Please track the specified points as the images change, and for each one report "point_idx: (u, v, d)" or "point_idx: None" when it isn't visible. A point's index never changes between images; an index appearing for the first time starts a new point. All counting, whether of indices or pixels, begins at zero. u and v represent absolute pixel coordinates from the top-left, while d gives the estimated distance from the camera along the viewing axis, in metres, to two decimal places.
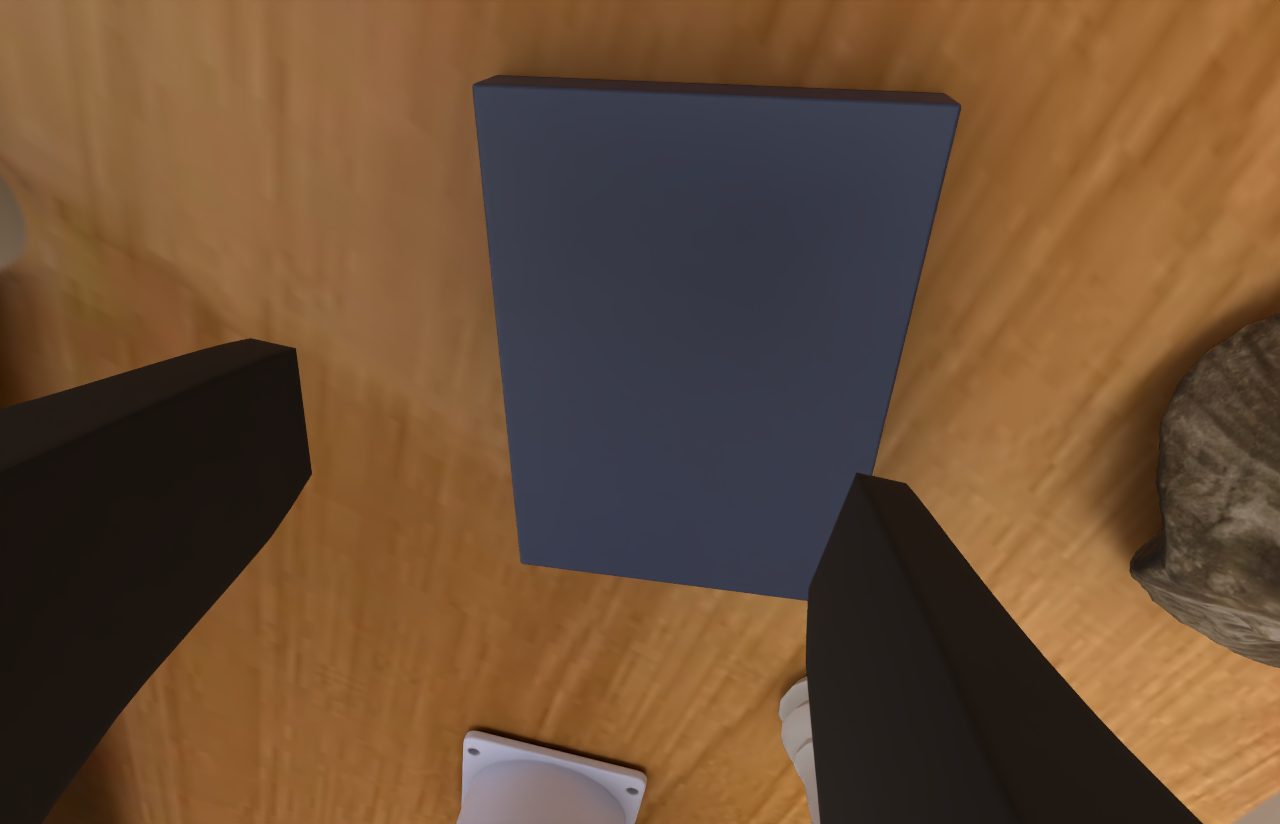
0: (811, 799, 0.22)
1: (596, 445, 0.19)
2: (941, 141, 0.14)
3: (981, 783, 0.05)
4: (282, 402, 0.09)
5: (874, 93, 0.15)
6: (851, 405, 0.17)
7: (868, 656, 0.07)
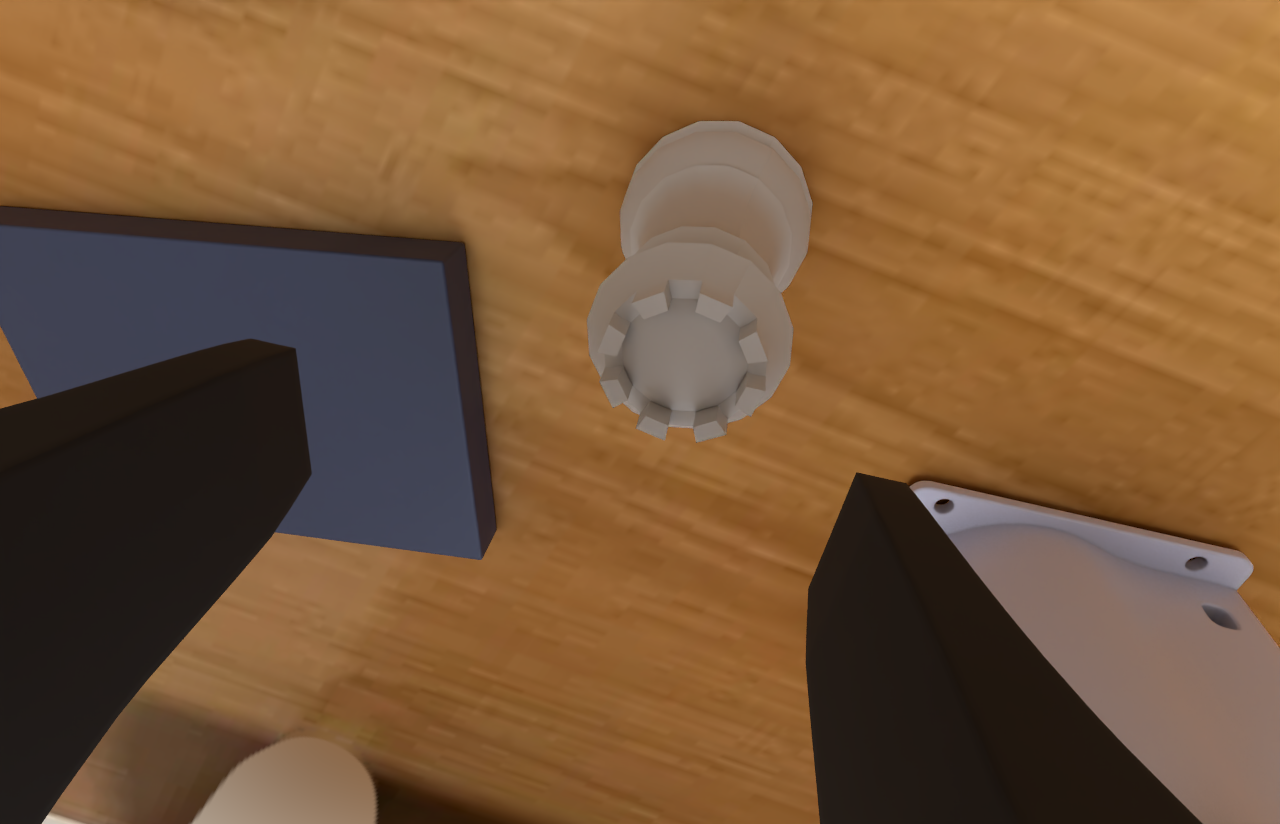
0: None
1: (319, 479, 0.22)
2: None
3: (981, 783, 0.05)
4: (282, 402, 0.09)
5: None
6: (194, 273, 0.18)
7: (868, 656, 0.07)
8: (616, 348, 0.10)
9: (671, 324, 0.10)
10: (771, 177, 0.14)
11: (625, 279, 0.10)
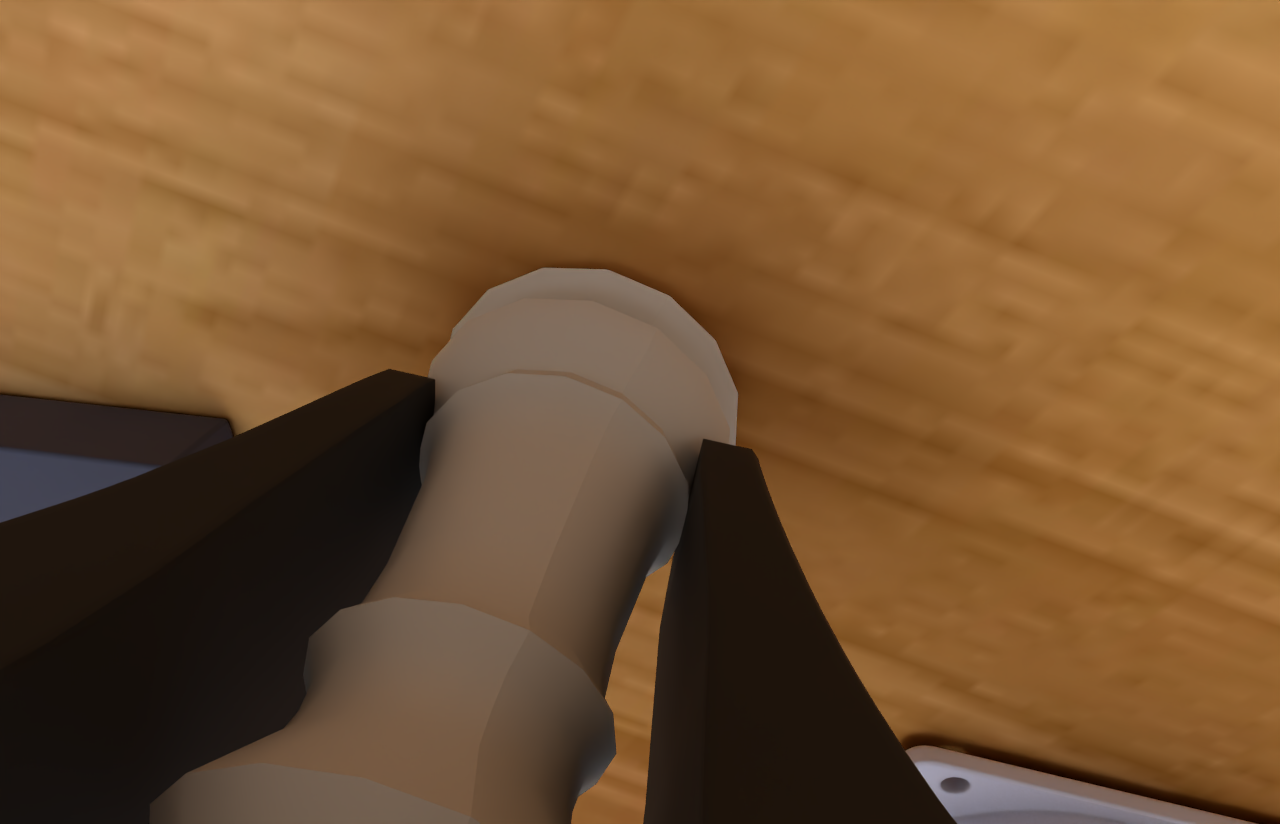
0: None
1: None
2: None
3: (700, 716, 0.05)
4: (421, 434, 0.09)
5: None
6: None
7: (682, 613, 0.07)
8: None
9: None
10: (650, 385, 0.08)
11: None
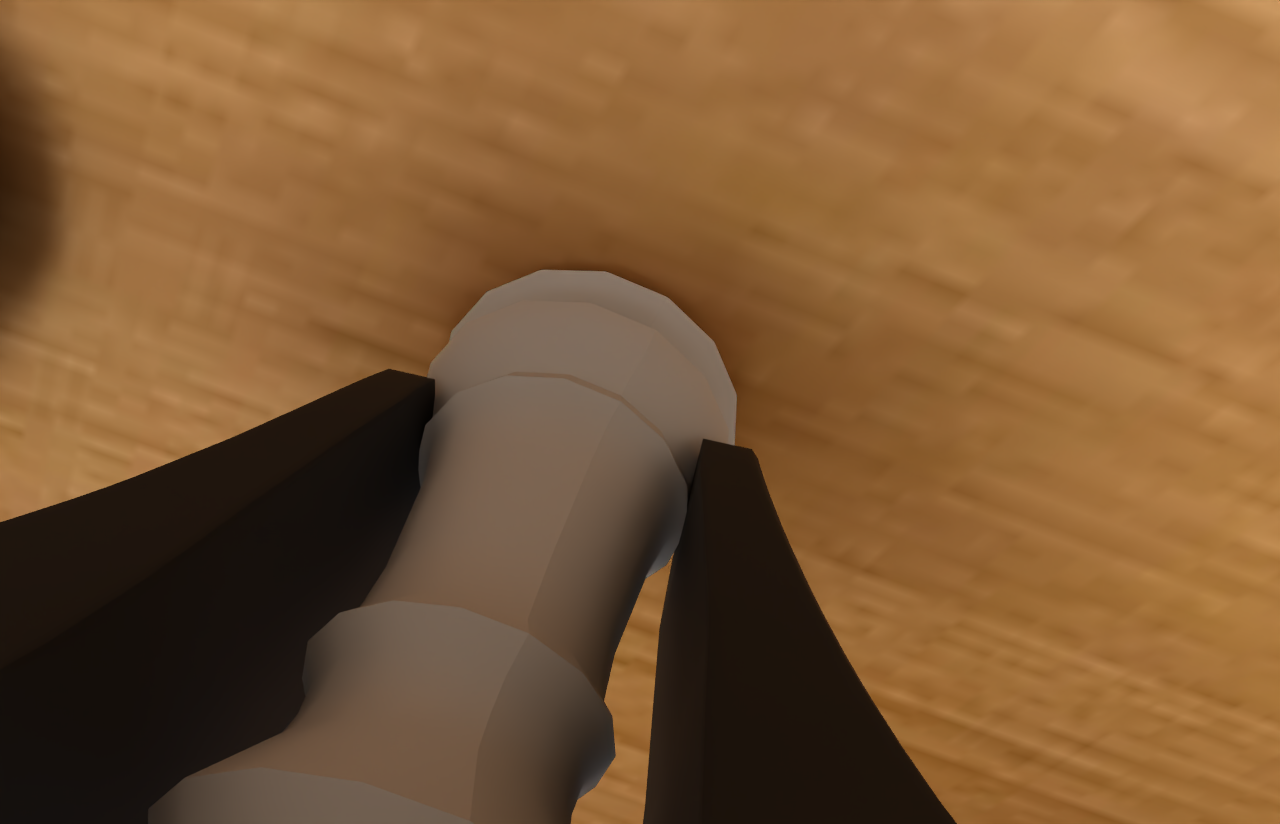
0: None
1: None
2: None
3: (700, 715, 0.05)
4: (421, 434, 0.09)
5: None
6: None
7: (682, 612, 0.07)
8: None
9: None
10: (649, 387, 0.08)
11: None
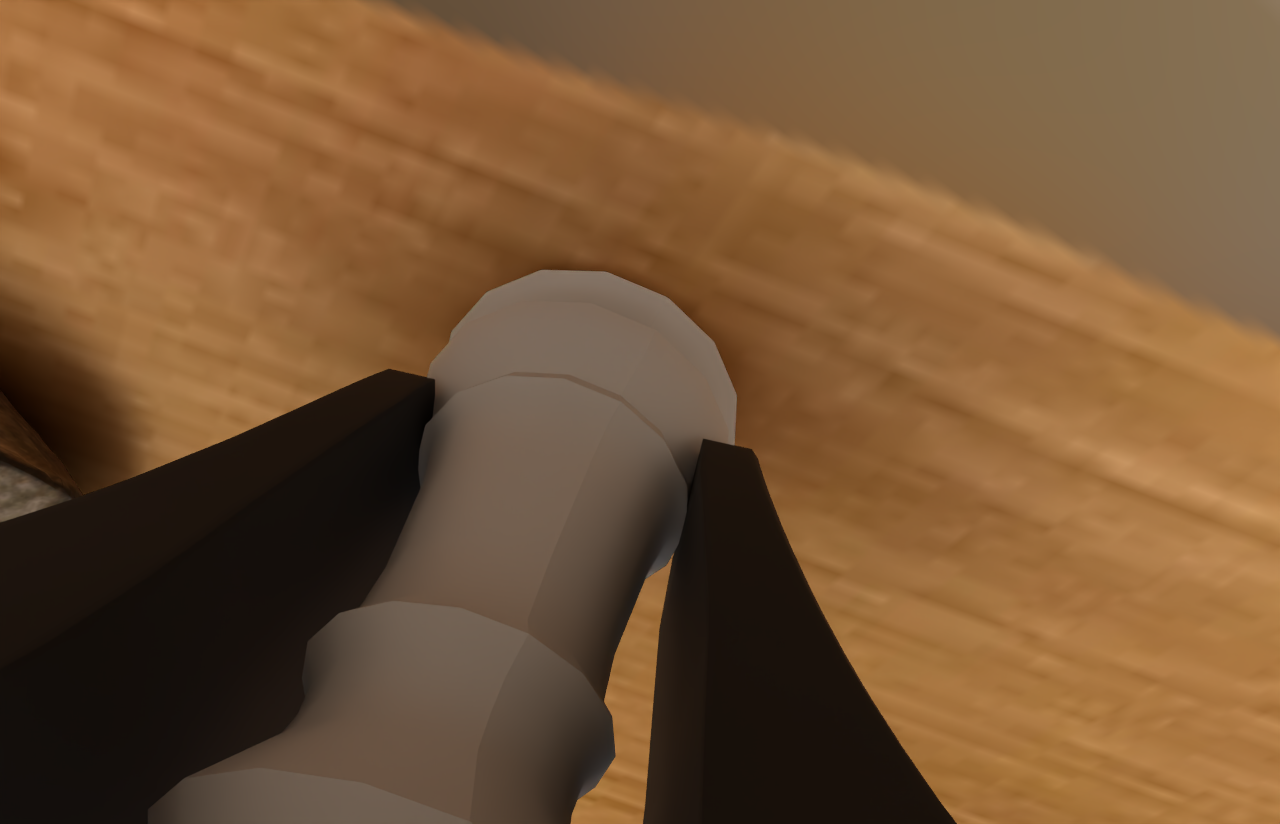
0: None
1: None
2: None
3: (699, 715, 0.05)
4: (421, 433, 0.09)
5: None
6: None
7: (682, 612, 0.07)
8: None
9: None
10: (649, 387, 0.08)
11: None
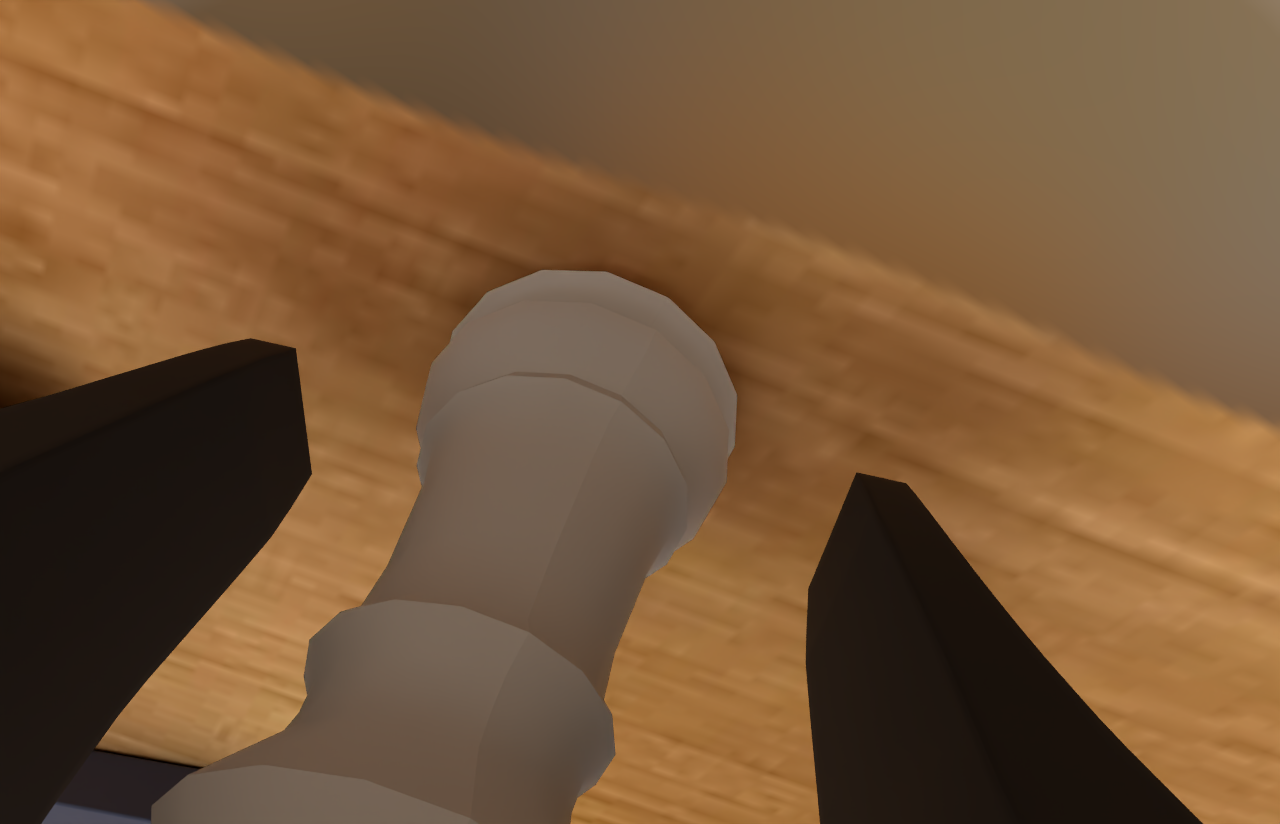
0: None
1: None
2: None
3: (981, 783, 0.05)
4: (281, 402, 0.09)
5: None
6: None
7: (868, 656, 0.07)
8: None
9: None
10: (650, 387, 0.08)
11: None
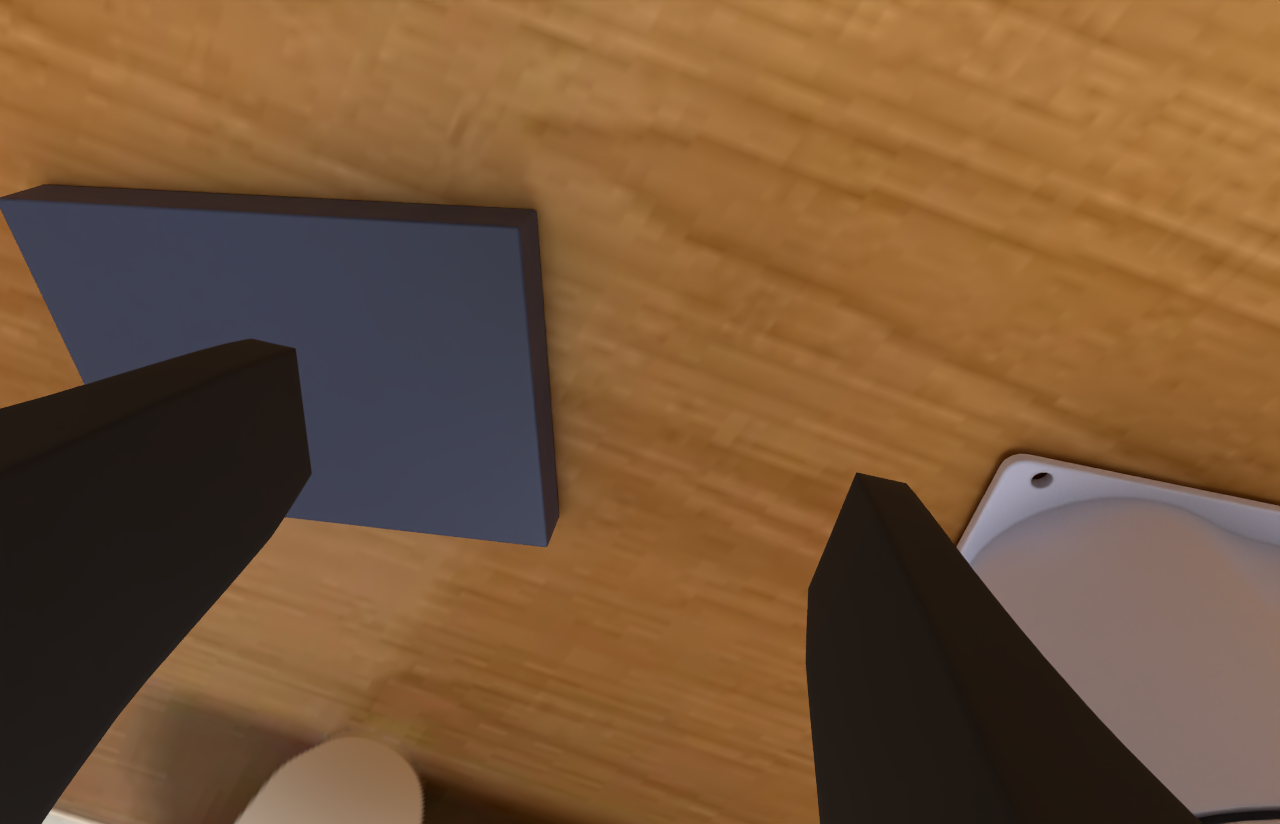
0: None
1: (379, 465, 0.21)
2: (21, 209, 0.18)
3: (981, 784, 0.05)
4: (281, 402, 0.09)
5: None
6: (253, 247, 0.18)
7: (868, 656, 0.07)
8: None
9: None
10: None
11: None
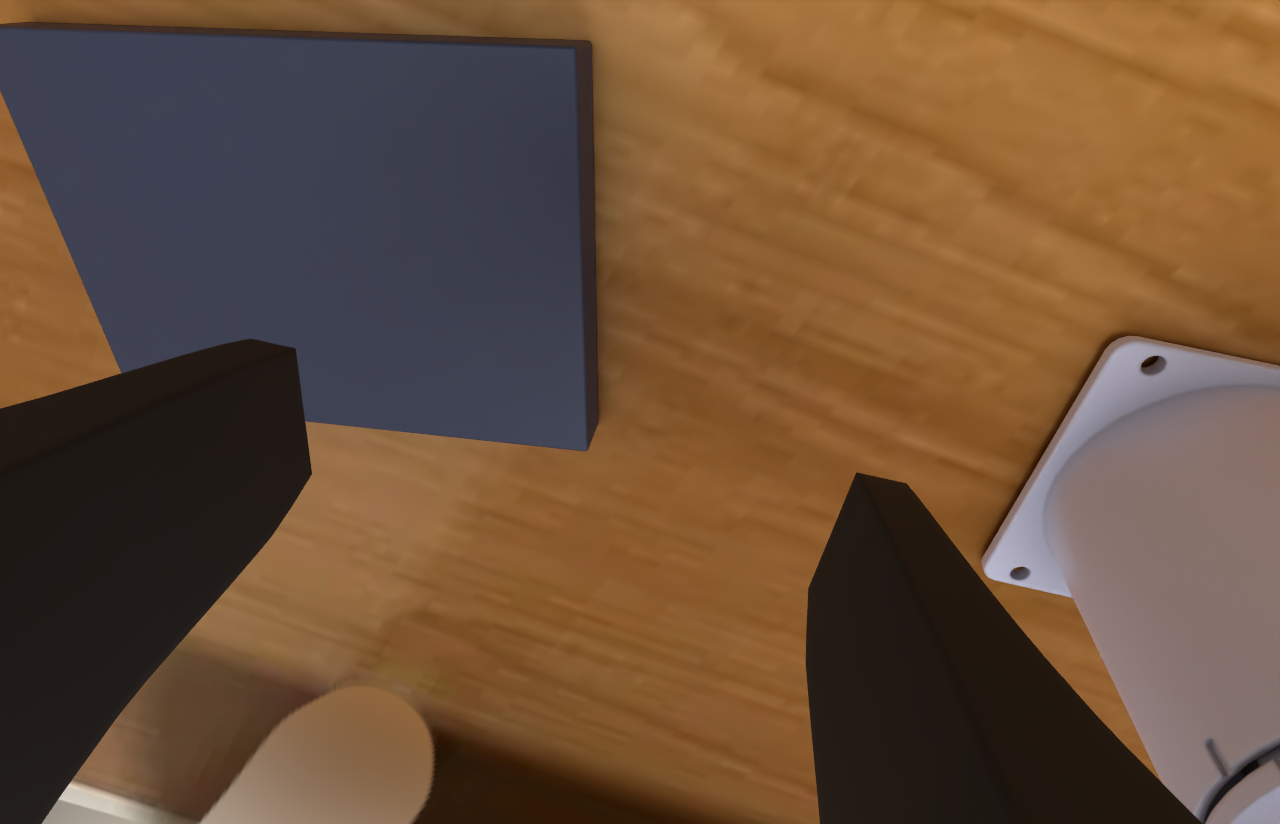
0: None
1: (402, 354, 0.19)
2: (2, 38, 0.16)
3: (981, 783, 0.05)
4: (281, 402, 0.09)
5: None
6: (267, 81, 0.15)
7: (868, 656, 0.07)
8: None
9: None
10: None
11: None
